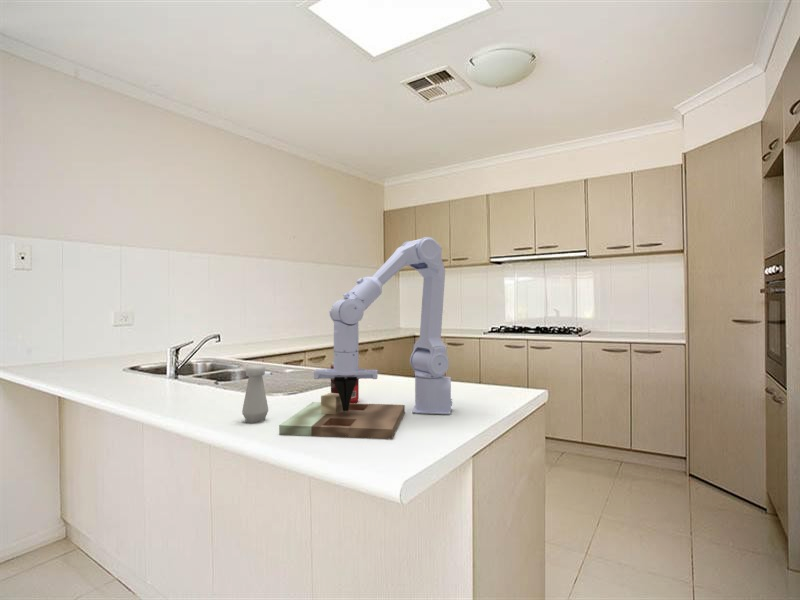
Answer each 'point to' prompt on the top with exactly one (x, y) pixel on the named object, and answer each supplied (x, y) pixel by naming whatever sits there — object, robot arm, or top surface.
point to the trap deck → (346, 421)
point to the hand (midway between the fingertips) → (345, 409)
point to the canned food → (355, 392)
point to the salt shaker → (255, 395)
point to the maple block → (331, 403)
